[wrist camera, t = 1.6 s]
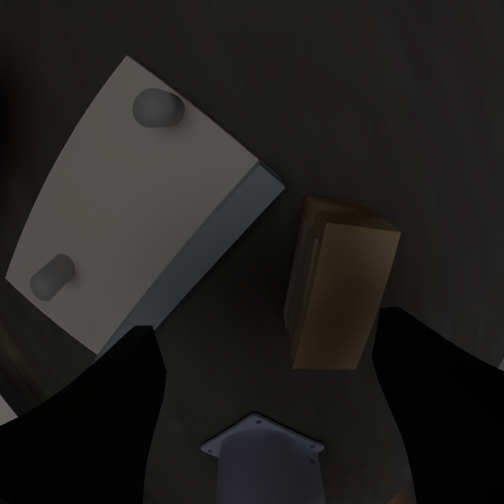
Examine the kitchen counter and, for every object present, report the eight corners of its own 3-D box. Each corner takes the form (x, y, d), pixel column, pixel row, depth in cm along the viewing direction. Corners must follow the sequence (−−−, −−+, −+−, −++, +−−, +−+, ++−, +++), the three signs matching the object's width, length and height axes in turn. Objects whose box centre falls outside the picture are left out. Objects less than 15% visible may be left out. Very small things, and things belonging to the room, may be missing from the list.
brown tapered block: (362, 202, 18) (400, 232, 13) (334, 315, 21) (355, 369, 16) (301, 193, 18) (322, 222, 13) (281, 312, 21) (289, 368, 16)
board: (279, 177, 18) (287, 191, 14) (118, 358, 23) (102, 393, 19) (132, 58, 15) (104, 44, 11) (12, 272, 20) (-17, 297, 16)
